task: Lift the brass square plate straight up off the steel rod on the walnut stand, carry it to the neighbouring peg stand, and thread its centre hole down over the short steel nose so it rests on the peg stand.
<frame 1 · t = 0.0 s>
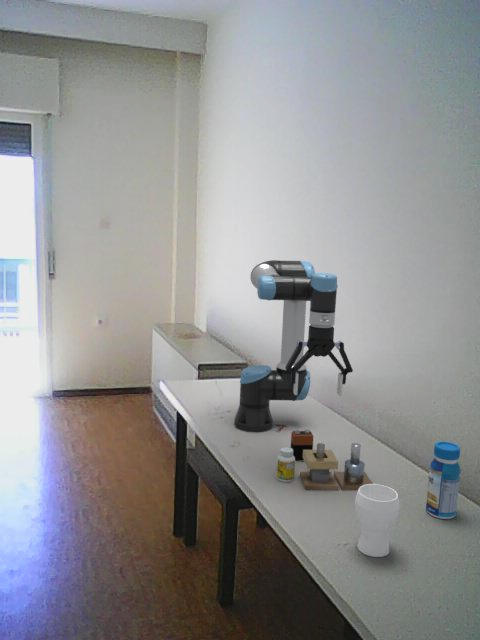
hand: (317, 394, 180), 28 cm above the table, tool pointing down, fingers open, 13 cm apart
brass plate: (319, 463, 182), point 6 cm above the table, touching rod stand
cup: (373, 549, 148), on the table
battery: (300, 458, 202), on the table
peg stand: (353, 482, 184), on the table
rod stand: (318, 482, 183), on the table
beverage bottle: (440, 513, 167), on the table
supplement bottle: (285, 479, 186), on the table
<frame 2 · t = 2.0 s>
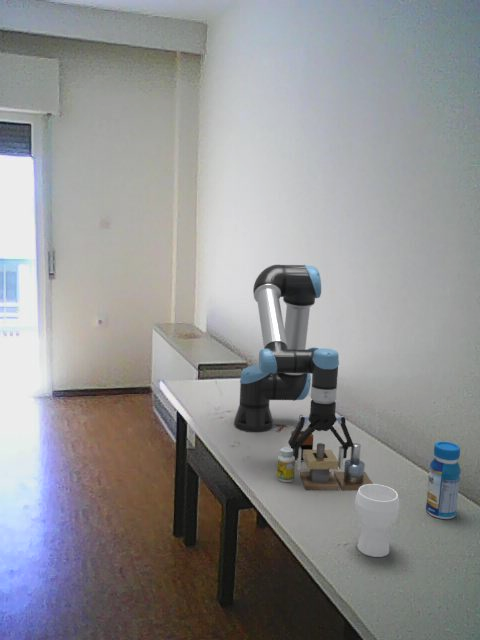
hand: (319, 468, 182), 5 cm above the table, tool pointing down, fingers open, 12 cm apart
nothing on the table moved.
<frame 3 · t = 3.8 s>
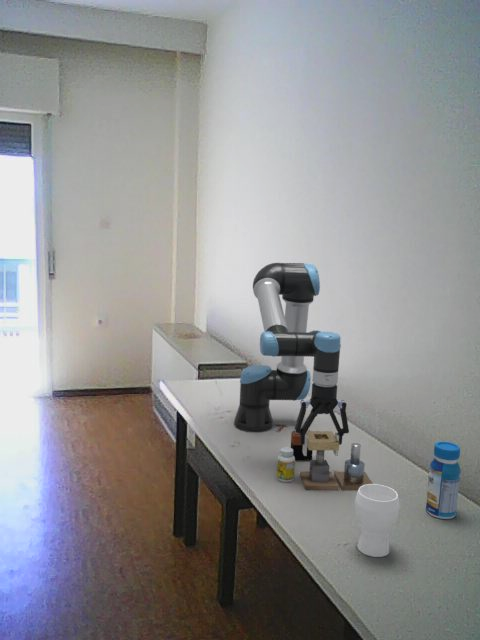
hand: (320, 454, 182), 9 cm above the table, tool pointing down, fingers closed on brass plate, 9 cm apart
brass plate: (320, 444, 182), point 12 cm above the table, touching gripper
everything else where it was.
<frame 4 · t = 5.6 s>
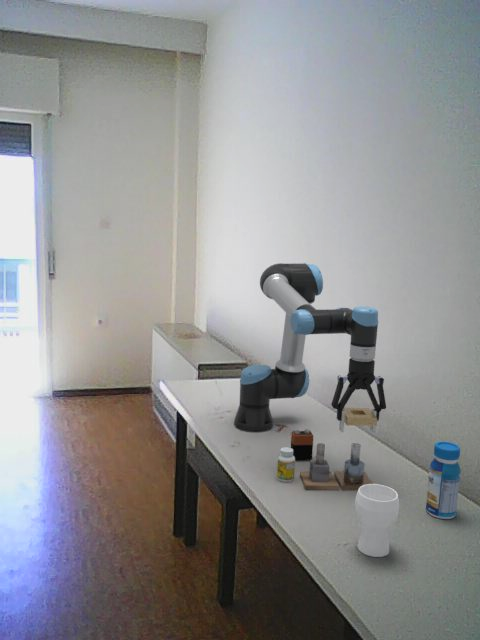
hand: (356, 430, 181), 17 cm above the table, tool pointing down, fingers closed on brass plate, 9 cm apart
brass plate: (357, 420, 181), point 20 cm above the table, touching gripper
everything else where it was.
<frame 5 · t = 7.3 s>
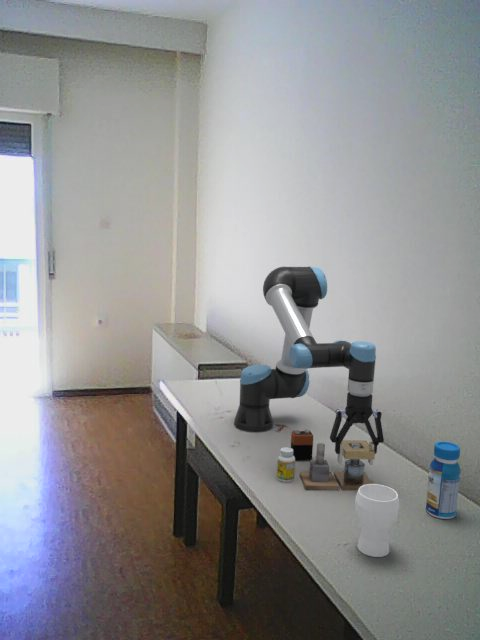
hand: (354, 463, 183), 7 cm above the table, tool pointing down, fingers closed on brass plate, 9 cm apart
brass plate: (355, 453, 183), point 10 cm above the table, touching gripper
everything else where it was.
when the fingers open (4 cm above the table, at t = 8.6 s): brass plate drops 1 cm, resting on peg stand.
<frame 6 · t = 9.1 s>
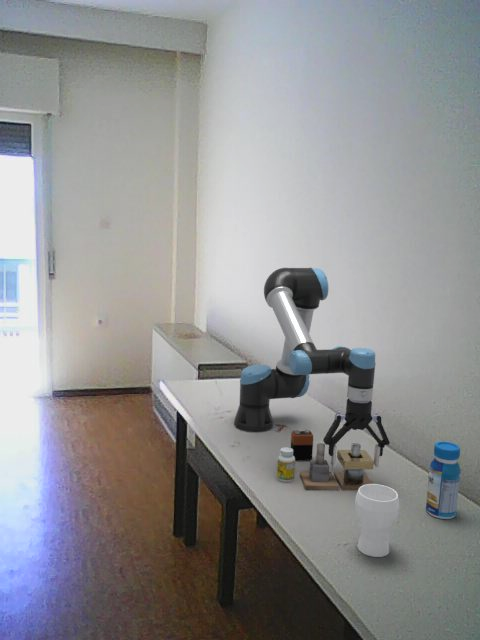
hand: (354, 465, 183), 6 cm above the table, tool pointing down, fingers open, 13 cm apart
brass plate: (354, 463, 183), point 6 cm above the table, touching peg stand
everything else where it was.
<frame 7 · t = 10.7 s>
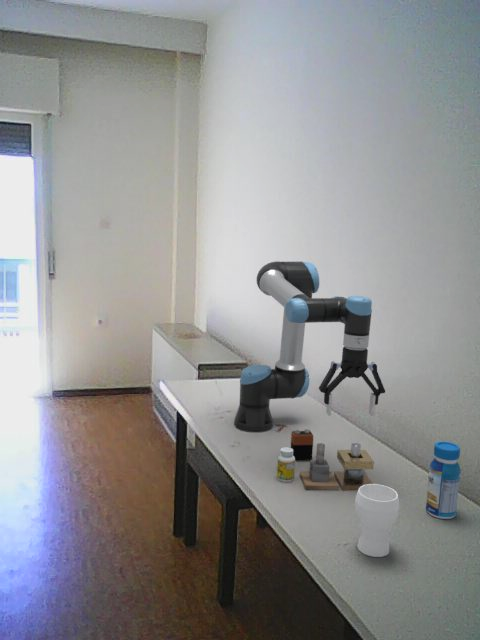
hand: (349, 414, 183), 21 cm above the table, tool pointing down, fingers open, 13 cm apart
nothing on the table moved.
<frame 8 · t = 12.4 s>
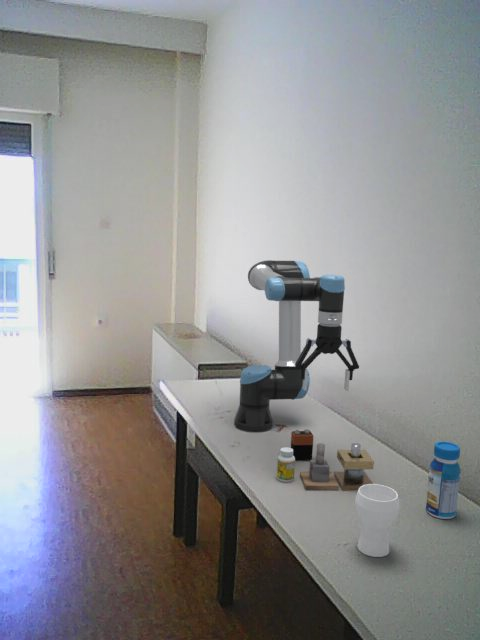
hand: (325, 389, 190), 27 cm above the table, tool pointing down, fingers open, 13 cm apart
nothing on the table moved.
at the end: brass plate 0.0 cm off-centre on the peg stand, point 6.5 cm above the peg stand's base; brass plate tilted 0°; the gripper is holding nothing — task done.
